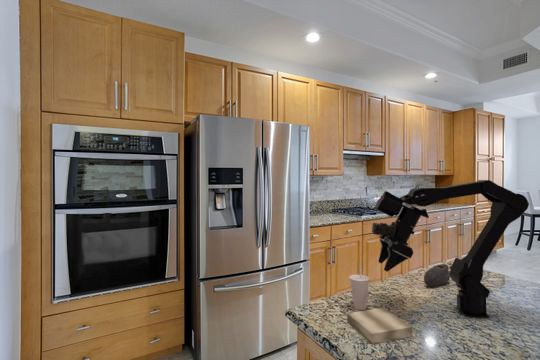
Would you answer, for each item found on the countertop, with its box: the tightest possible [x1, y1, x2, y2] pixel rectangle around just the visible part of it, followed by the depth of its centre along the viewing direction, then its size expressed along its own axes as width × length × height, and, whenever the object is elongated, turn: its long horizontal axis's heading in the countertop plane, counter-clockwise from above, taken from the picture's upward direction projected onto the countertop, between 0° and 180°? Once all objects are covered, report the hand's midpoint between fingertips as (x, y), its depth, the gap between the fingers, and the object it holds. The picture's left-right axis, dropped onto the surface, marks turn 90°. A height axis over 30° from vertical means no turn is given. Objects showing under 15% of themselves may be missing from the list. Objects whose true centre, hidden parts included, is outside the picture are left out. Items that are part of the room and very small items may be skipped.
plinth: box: [346, 307, 413, 345], centre depth 78 cm, size 12×12×2 cm
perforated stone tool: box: [423, 263, 451, 288], centre depth 111 cm, size 15×5×7 cm, turn 119°
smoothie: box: [348, 263, 370, 311], centre depth 92 cm, size 6×6×14 cm
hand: (382, 266), depth 92 cm, fingers open, 9 cm apart
